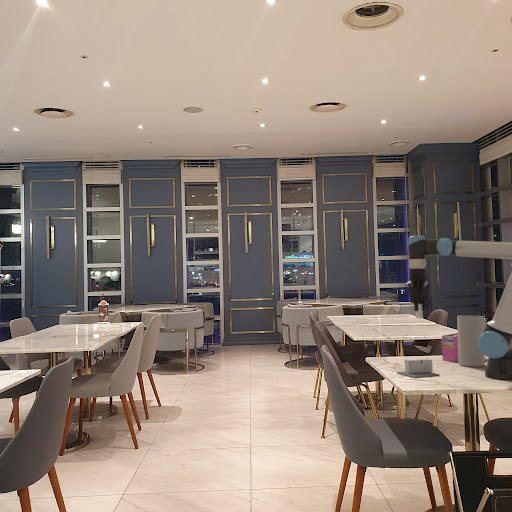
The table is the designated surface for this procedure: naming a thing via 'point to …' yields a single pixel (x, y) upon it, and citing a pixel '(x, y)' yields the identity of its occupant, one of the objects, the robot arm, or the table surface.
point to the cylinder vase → (470, 341)
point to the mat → (418, 374)
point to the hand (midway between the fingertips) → (418, 317)
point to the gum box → (450, 347)
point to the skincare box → (418, 365)
